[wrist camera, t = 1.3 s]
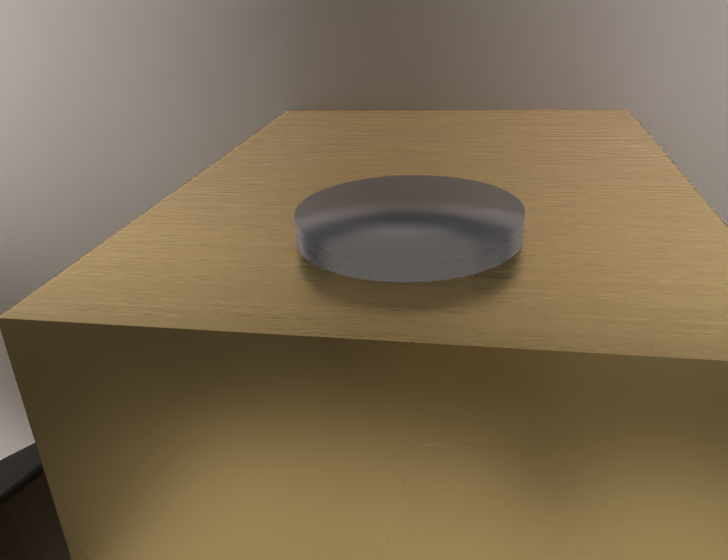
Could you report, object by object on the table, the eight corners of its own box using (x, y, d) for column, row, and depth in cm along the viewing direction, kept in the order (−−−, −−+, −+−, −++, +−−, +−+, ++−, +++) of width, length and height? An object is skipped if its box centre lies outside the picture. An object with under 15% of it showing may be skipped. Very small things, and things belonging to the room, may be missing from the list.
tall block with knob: (287, 94, 9) (-12, 287, 4) (629, 91, 8) (856, 329, 3) (326, 549, 13) (200, 976, 7) (567, 577, 12) (623, 1078, 7)
